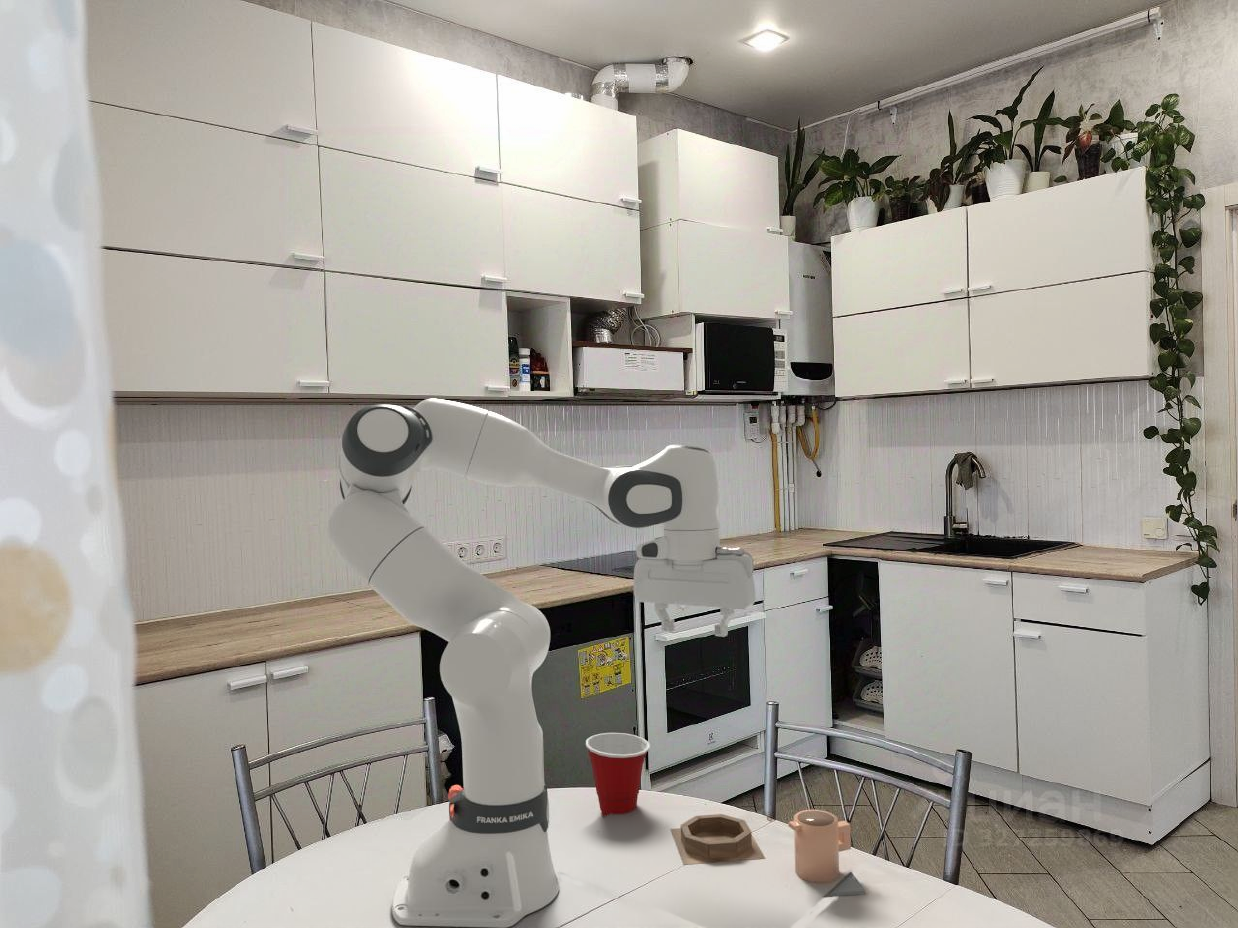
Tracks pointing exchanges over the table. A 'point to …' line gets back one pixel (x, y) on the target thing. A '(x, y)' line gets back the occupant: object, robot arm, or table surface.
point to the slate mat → (847, 887)
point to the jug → (819, 844)
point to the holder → (715, 840)
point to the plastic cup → (617, 770)
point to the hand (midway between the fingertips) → (694, 633)
